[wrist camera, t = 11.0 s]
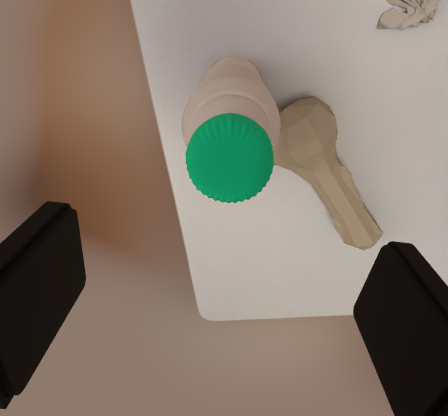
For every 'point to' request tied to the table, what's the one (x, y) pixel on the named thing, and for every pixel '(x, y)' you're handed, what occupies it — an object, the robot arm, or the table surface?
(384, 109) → the table surface
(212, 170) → the water bottle
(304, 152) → the faceted club
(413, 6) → the flower
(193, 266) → the table surface
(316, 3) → the table surface
